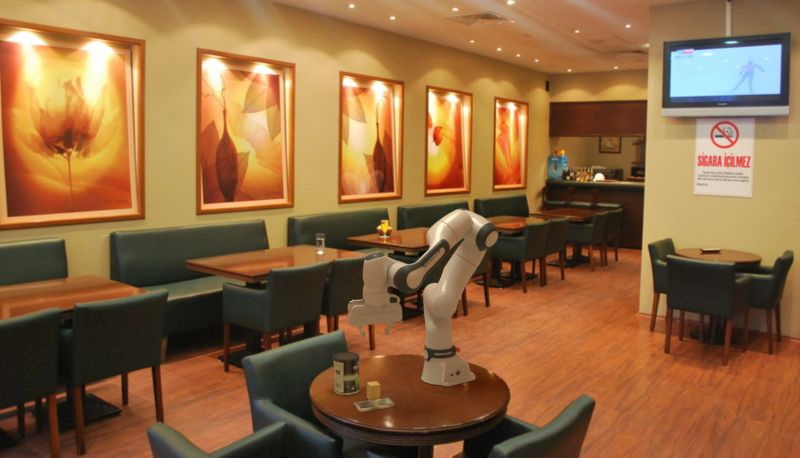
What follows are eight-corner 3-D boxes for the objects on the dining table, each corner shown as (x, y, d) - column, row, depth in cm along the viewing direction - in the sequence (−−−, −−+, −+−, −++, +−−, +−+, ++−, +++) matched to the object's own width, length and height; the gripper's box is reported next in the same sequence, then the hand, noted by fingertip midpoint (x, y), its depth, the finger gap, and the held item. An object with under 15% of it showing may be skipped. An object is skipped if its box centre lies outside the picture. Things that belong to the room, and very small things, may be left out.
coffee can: (362, 386, 261) (362, 352, 259) (355, 396, 251) (355, 360, 249) (337, 384, 263) (337, 350, 261) (330, 394, 253) (329, 359, 251)
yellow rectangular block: (376, 396, 251) (376, 381, 250) (380, 400, 247) (380, 384, 246) (366, 397, 249) (366, 382, 249) (370, 401, 246) (370, 386, 245)
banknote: (388, 399, 247) (388, 396, 247) (395, 406, 241) (395, 403, 241) (353, 405, 242) (353, 402, 242) (359, 412, 236) (359, 409, 236)
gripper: (350, 302, 230) (350, 340, 231) (404, 297, 237) (403, 334, 239) (345, 298, 235) (345, 335, 237) (397, 294, 243) (397, 330, 245)
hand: (375, 335), depth 238 cm, fingers open, 8 cm apart
